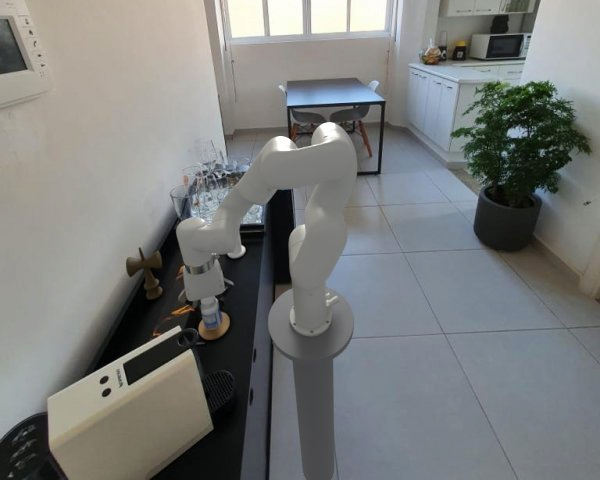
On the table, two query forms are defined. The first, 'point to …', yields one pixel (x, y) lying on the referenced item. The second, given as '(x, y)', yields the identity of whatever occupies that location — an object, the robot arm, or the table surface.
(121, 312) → the table surface
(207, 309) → the pill bottle
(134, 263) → the kendama
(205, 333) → the coaster
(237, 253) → the candle
